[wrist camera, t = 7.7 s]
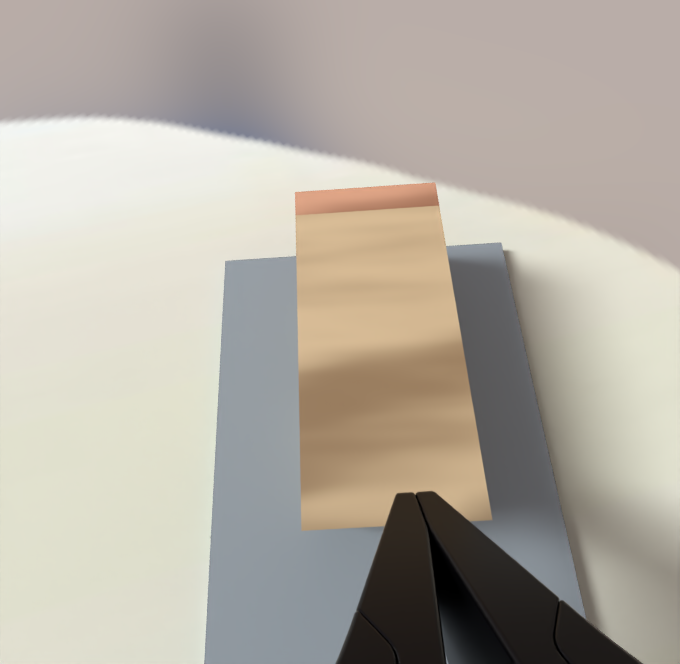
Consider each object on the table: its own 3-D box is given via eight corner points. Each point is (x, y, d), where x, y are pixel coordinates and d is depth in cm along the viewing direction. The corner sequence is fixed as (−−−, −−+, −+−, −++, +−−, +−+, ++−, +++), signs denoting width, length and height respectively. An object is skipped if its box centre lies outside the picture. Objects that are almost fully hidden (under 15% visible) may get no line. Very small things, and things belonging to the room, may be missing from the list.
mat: (619, 805, 13) (631, 818, 12) (202, 823, 13) (195, 838, 13) (497, 249, 20) (501, 242, 20) (229, 267, 21) (225, 261, 20)
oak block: (492, 520, 11) (435, 182, 15) (301, 530, 11) (295, 191, 15) (452, 513, 16) (416, 256, 20) (318, 520, 16) (309, 264, 20)
